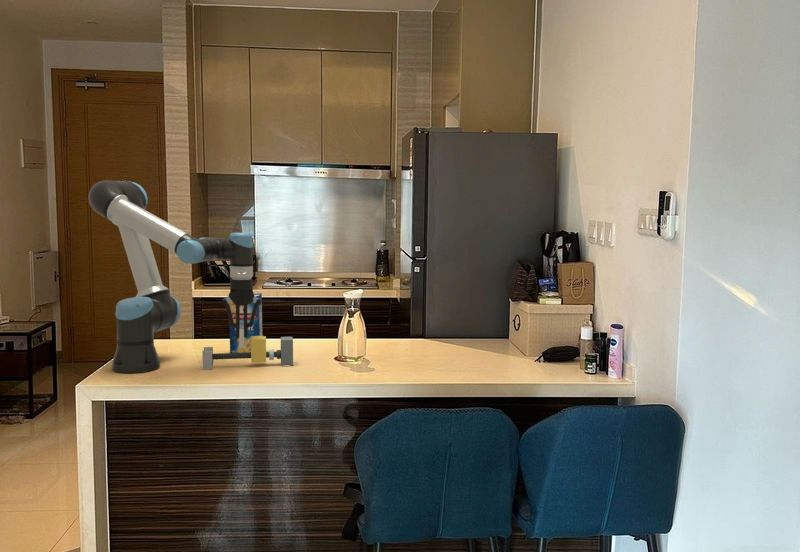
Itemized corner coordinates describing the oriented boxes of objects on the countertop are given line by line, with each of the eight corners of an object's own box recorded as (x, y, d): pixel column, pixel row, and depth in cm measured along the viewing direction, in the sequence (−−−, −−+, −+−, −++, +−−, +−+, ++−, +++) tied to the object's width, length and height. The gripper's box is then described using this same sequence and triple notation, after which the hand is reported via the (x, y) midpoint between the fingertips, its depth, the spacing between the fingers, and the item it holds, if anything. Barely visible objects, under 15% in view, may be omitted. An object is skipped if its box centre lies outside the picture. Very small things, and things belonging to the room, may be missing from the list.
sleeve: (251, 362, 248) (250, 339, 247) (251, 359, 254) (251, 336, 253) (266, 362, 249) (265, 339, 248) (266, 358, 255) (265, 336, 254)
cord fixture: (202, 369, 244) (202, 343, 243) (204, 364, 252) (203, 338, 251) (293, 366, 250) (293, 340, 249) (292, 361, 258) (292, 336, 257)
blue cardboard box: (260, 355, 267) (259, 295, 265) (229, 355, 267) (228, 295, 264) (262, 351, 274) (262, 293, 272) (233, 351, 273) (232, 293, 271)
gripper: (221, 279, 243) (221, 349, 245) (261, 279, 245) (261, 348, 248) (222, 277, 250) (222, 345, 252) (260, 277, 252) (260, 344, 255)
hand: (241, 346), depth 250 cm, fingers closed
